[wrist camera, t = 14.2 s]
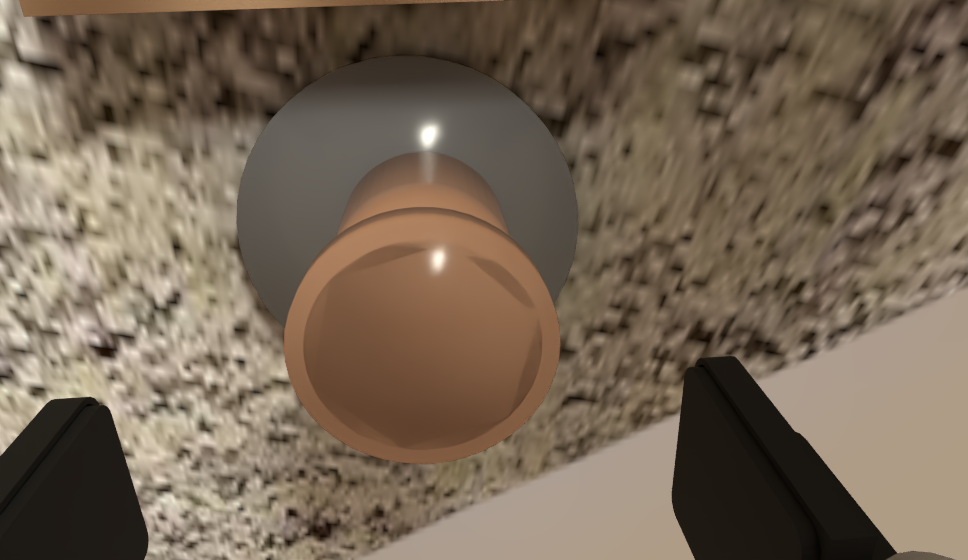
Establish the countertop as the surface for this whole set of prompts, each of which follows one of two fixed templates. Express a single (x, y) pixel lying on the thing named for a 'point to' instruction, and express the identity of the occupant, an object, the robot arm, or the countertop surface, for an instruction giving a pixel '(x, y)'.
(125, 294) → the countertop surface
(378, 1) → the brown wooden square frame
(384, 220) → the terracotta pot
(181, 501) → the countertop surface
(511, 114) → the slate coaster
